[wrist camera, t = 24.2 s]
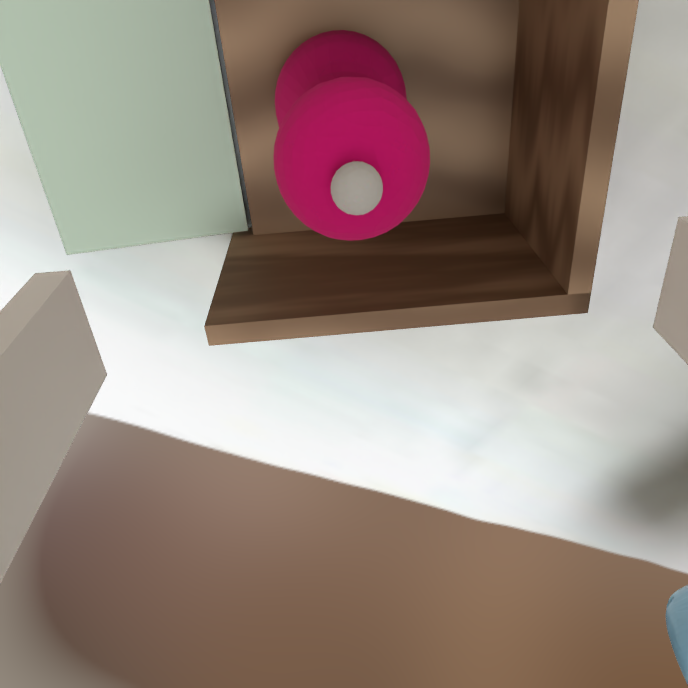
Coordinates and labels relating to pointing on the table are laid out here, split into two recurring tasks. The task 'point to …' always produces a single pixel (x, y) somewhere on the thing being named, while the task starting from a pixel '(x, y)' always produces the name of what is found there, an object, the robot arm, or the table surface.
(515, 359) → the table surface
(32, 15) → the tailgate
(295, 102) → the pepper mill
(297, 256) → the crate
